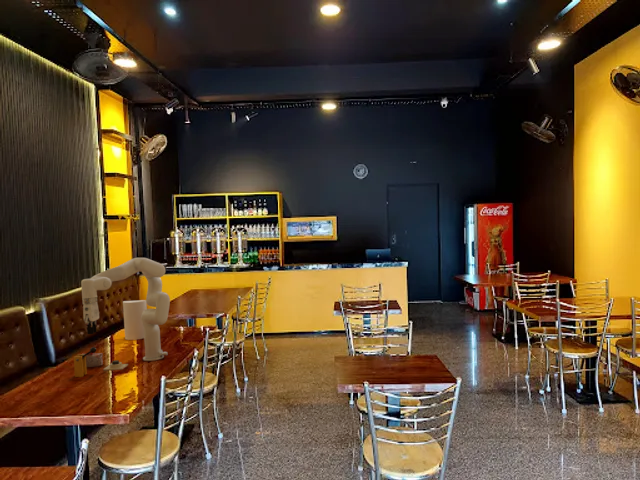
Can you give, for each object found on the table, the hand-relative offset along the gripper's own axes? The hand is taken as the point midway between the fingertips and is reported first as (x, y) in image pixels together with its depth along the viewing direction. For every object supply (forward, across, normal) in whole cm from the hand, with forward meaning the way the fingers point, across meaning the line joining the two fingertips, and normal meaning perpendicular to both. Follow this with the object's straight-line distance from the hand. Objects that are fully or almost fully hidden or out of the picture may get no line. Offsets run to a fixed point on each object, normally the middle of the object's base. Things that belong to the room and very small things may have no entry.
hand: (92, 332), depth 281 cm
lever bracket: (+25, 0, +8) cm, 26 cm away
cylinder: (+25, +100, +11) cm, 104 cm away
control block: (+25, +12, -7) cm, 29 cm away
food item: (+25, +20, +11) cm, 34 cm away
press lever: (+13, 0, +3) cm, 14 cm away
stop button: (+22, +12, -7) cm, 26 cm away
